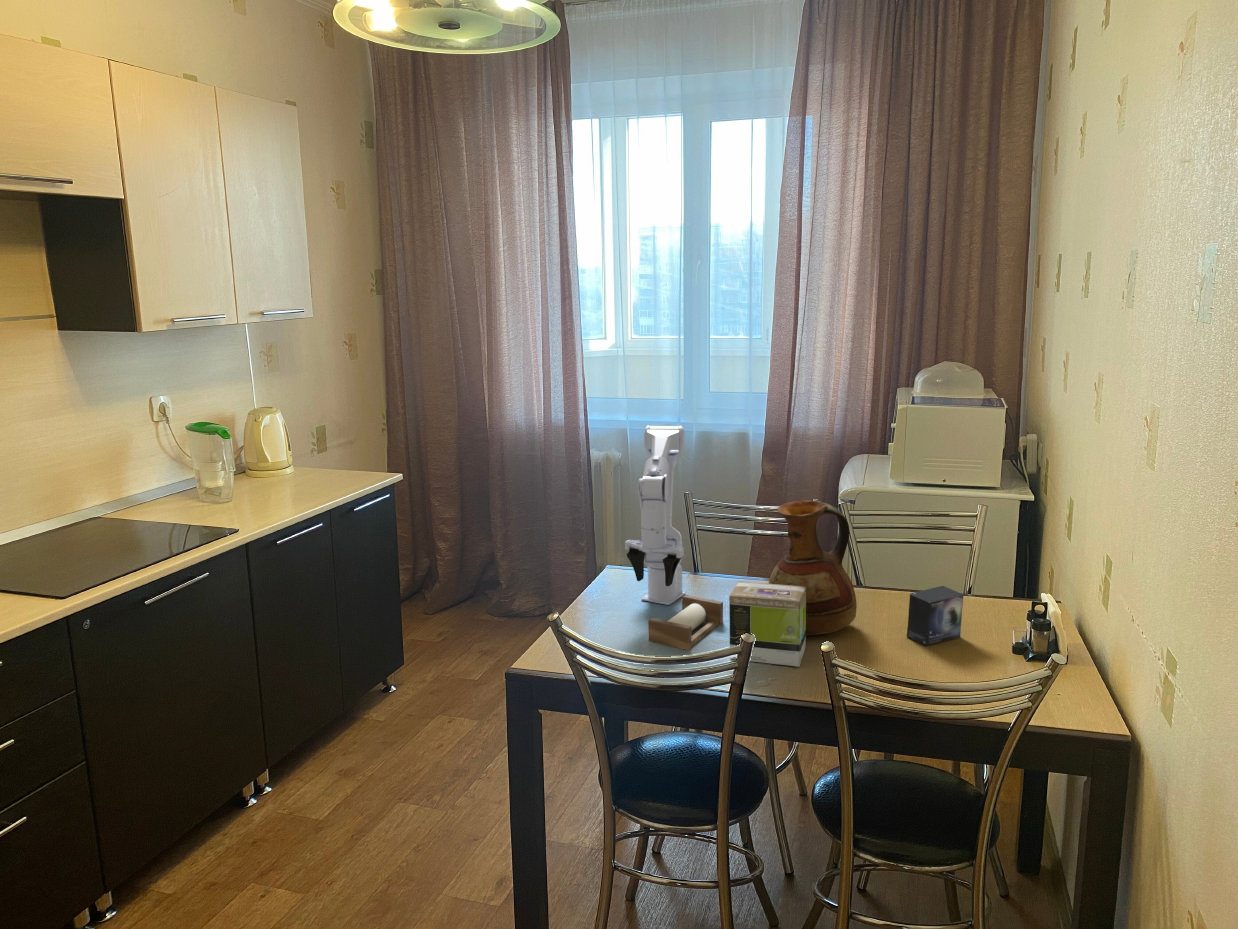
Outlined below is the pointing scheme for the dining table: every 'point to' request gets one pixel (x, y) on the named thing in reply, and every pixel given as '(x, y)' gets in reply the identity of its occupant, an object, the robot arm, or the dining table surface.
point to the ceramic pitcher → (817, 567)
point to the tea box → (770, 621)
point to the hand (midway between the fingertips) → (654, 582)
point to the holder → (682, 633)
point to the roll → (690, 616)
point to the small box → (935, 615)
